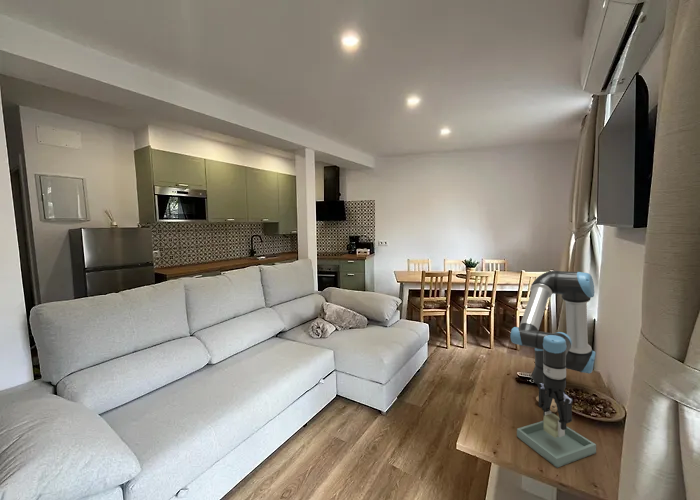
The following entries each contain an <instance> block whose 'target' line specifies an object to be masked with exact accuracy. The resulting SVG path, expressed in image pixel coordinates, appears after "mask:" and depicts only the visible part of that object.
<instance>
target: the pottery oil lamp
mask: <svg viewBox="0 0 700 500" xmlns="http://www.w3.org/2000/svg"><path fill="white" fill-rule="evenodd" d="M535 399H536V401H537V403H539V395H537V396H536V397H535ZM550 409H551V410H549V411H551V413H558V409H557V405H556V403H555V401H554V399H552V403H551V406H550Z"/></svg>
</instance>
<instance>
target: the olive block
mask: <svg viewBox="0 0 700 500" xmlns="http://www.w3.org/2000/svg"><path fill="white" fill-rule="evenodd" d="M543 420H544V431H546V432H547V433H549V434H550V435H552V436H553V437H555V438H556V437H558V420H560V418H559V415H557V414H555V413H554V412H551V414H549V415H545V416H544V417H543Z"/></svg>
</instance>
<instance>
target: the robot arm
mask: <svg viewBox="0 0 700 500" xmlns="http://www.w3.org/2000/svg"><path fill="white" fill-rule="evenodd" d="M529 291H530V295H529V298H528V301H527V304H526V306H525V309H524V312H523V315H522V318H521V321H520V324H519V327H518V326H514V327H512V328H511V330H510V341H511V343H512V344H515V345H519V346H523V347H527V348H528V347H529V348H532V349H533V348H534V368H533V370H532V373H531V380H532V379H533V380H534V381H535V383H534V384H536V385H537V388H538V396H539V402H538V407H539V408H541V410H542V412H543V413H542V415H543V418H544V416H545V415H549V414H552V411H550V410H551V409H550V406H551V403H552V399H554V401H555V403H556V405H557V409H558V410H557V414H558V417H559V418H560V420H558V437H562V436H565V429H566V426H567V424H569V423H571V422H573V412H572V411H573V401H574V399H573V398H572V397H569V395H567V393H566V387H567V370H571V371H576V372H579V373H584V374H591V373H592V372H593V369H594V364H595V360H596V354H597V352H596V351H594V350H593V349H592V346H591V345H590V344H589V343H588V342H589V341H588V340H589V339H588V338H589V337H588V333H589V332H588V305H587V303H588V302H590V301H591V298H594V297H595V284H594V280H593V277H592V275H591V274H590V273H588V272H582V271H564V270H563V271H562V270H551V271H550V270H549V271H546V272H544V273H542V274H540V275H539V276H537V278H535V280H534V281H533V282H532V283H531V286H530V289H529ZM554 294H555V295H561V300H563V301H564V302H565V322H566V326H565V327H566V332H562V331H558V332H557V331H556V332H554V333H553V332H545V331H541V330H540V326H541V324H542V321H543V316H544V314H545V310H546V308H547V303H548V300H549V298H551V297H552V295H554ZM539 330H540V331H539Z"/></svg>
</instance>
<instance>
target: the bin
mask: <svg viewBox="0 0 700 500" xmlns="http://www.w3.org/2000/svg"><path fill="white" fill-rule="evenodd" d="M516 438H518V439H519V440H520V441H521V442H523V443H524V444H526V445H527V446H528V447H529V448H531V449H532V450H533V451H535V452H536V453H537V454H538V455H540V456H541V457H543V458H544V459H545V460H546V461H547V462H548V463H550V464H551V465H552V466H554V467H555V468H556V469H558V468H560V467H562V466H566V465H568V464H570V463H573V462H576V461H579V460H581V459H584V458H587V457H589V456H592V455H595V454H597V444H596V443H595V442H593V441H591V440H590V439H588V438H586V437H585V436H583V435H581V434H580V433H578V432H577V431H575V430H574V429H572V428H570V427H568V426H567V425H566V429H565V436H562V437H556V438H555V437H553V436H552V435H550V434H549V433H547V432H546V431H544V419H543V420H540V421H538V422H535V423H531V424H528V425H525V426H521V427H518V428H516Z"/></svg>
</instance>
